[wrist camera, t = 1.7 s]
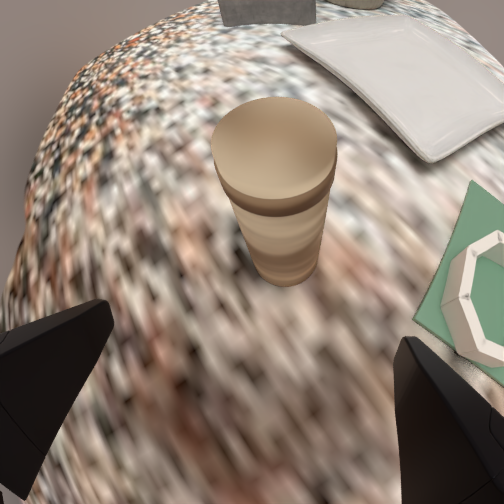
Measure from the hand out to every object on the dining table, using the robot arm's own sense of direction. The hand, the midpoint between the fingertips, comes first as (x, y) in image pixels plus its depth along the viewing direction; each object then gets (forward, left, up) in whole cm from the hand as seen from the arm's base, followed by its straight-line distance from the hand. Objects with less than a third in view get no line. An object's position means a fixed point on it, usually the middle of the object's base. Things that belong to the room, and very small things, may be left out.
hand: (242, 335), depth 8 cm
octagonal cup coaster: (+13, -16, -13) cm, 25 cm away
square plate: (+38, -4, -14) cm, 41 cm away
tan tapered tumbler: (+7, +2, -13) cm, 15 cm away
